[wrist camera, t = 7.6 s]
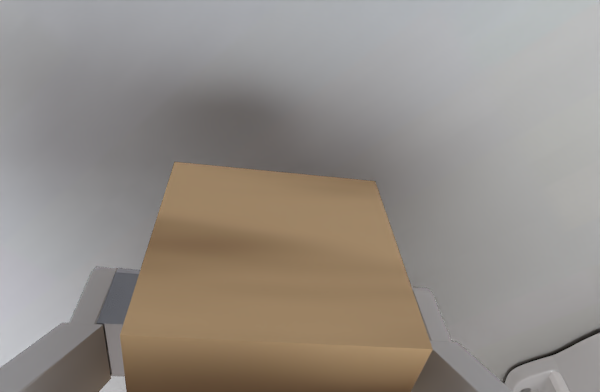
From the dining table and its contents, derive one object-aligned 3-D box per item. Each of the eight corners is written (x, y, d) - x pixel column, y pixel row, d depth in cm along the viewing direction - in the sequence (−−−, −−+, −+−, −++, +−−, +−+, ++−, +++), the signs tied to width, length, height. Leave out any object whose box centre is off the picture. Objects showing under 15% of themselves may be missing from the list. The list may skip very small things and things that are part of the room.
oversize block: (336, 310, 14) (363, 482, 10) (175, 301, 14) (137, 481, 10) (375, 181, 12) (432, 349, 8) (174, 161, 11) (119, 335, 7)
